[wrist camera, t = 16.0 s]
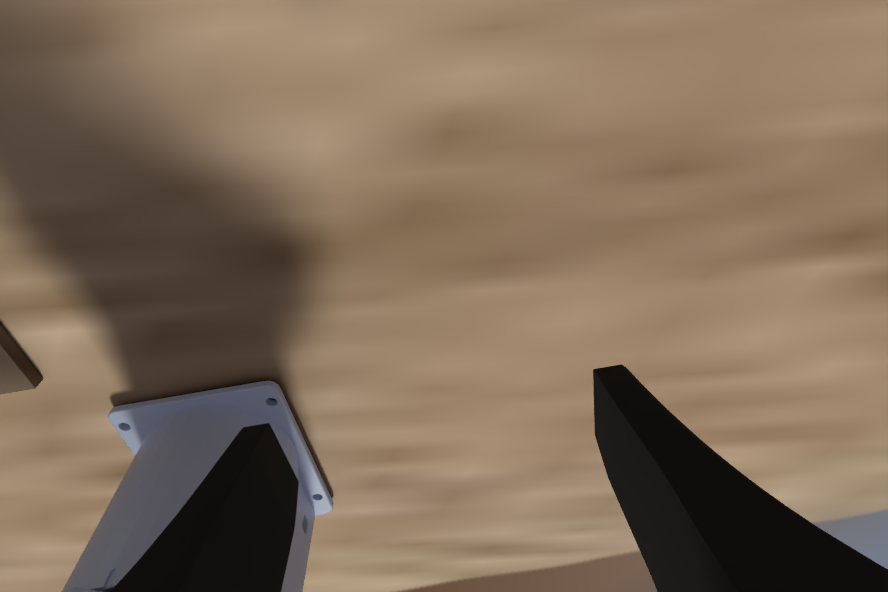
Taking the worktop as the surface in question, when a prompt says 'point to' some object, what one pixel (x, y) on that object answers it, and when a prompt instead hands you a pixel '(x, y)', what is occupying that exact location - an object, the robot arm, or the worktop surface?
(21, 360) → the clipboard
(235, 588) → the robot arm
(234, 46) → the worktop surface
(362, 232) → the worktop surface
